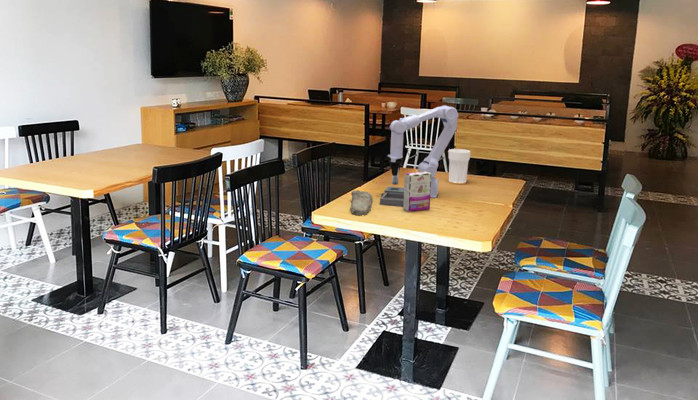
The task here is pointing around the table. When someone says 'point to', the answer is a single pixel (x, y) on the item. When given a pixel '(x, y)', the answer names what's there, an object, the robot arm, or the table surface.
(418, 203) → the candy bar box
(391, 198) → the tray
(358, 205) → the elongated rock
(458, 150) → the cup
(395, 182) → the pin
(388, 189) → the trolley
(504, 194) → the table surface
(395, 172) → the robot arm
